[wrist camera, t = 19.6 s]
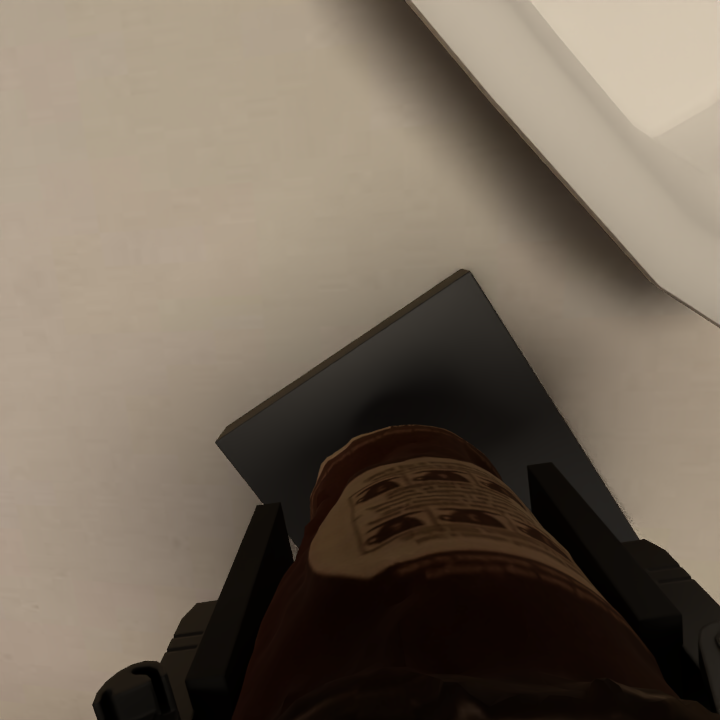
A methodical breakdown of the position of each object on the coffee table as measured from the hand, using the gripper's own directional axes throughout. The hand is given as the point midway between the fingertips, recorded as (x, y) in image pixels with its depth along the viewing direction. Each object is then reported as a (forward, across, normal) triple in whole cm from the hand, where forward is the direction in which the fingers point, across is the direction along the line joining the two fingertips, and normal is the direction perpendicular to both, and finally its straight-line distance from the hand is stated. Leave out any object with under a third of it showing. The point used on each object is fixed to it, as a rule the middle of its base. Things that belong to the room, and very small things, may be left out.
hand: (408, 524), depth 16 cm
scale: (+8, +1, -3) cm, 9 cm away
